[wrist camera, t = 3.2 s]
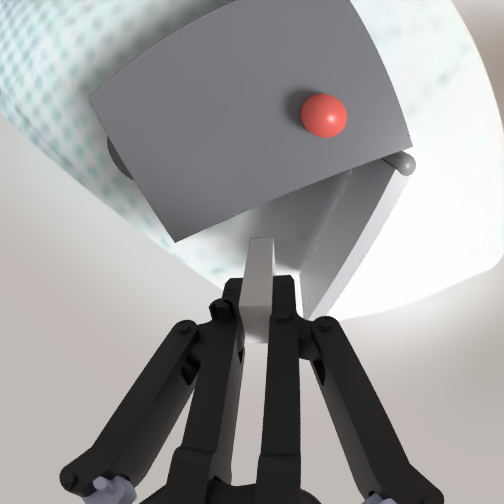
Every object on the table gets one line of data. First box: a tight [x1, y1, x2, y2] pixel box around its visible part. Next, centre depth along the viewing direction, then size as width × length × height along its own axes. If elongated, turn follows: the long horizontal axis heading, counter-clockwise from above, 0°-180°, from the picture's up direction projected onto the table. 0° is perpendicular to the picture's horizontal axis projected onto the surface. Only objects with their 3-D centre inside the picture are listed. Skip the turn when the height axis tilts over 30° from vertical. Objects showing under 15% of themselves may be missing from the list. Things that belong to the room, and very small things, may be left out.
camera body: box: [88, 0, 413, 243], centre depth 14 cm, size 10×15×8 cm, turn 116°
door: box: [299, 151, 416, 321], centre depth 18 cm, size 2×13×6 cm, turn 161°
